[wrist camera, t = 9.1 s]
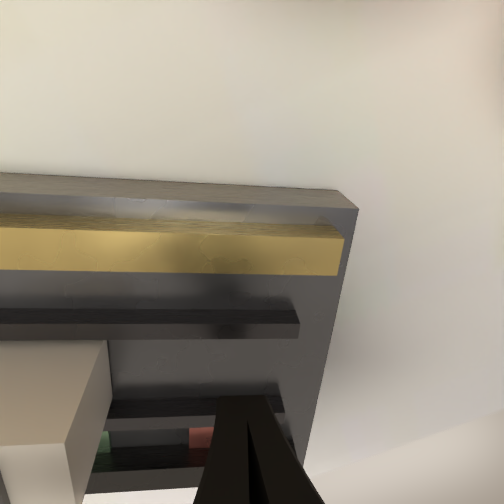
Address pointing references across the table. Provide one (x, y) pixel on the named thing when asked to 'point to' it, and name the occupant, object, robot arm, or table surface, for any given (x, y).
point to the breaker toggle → (51, 418)
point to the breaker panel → (177, 304)
